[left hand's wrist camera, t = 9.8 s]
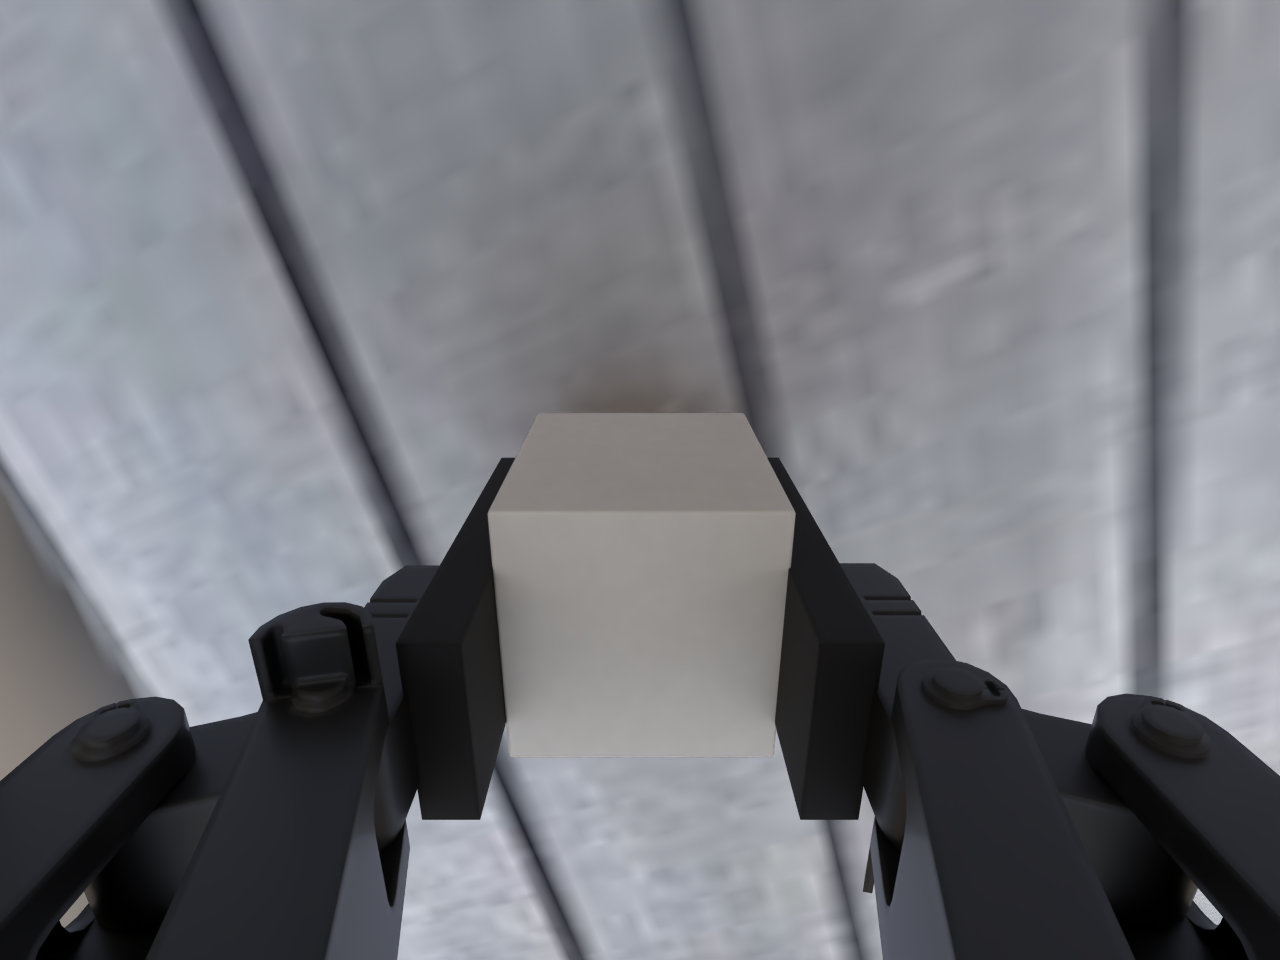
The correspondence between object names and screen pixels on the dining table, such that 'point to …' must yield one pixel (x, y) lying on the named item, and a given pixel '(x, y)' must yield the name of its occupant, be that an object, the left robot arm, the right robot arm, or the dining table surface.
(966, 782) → the left robot arm
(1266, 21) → the dining table surface
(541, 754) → the block
